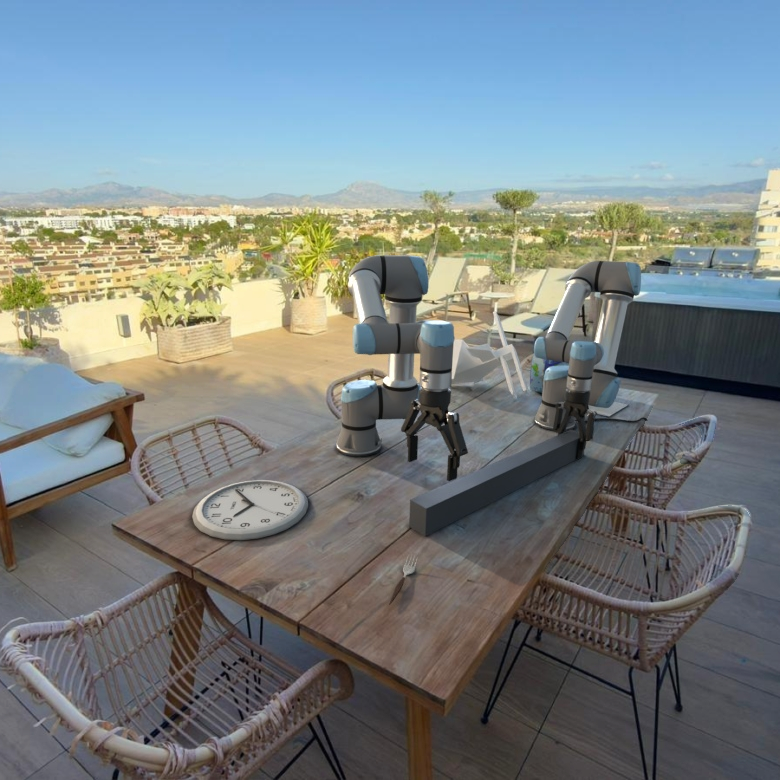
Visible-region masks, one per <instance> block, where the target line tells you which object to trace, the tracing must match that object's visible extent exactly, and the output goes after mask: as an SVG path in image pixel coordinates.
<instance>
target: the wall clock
mask: <svg viewBox="0 0 780 780" xmlns="http://www.w3.org/2000/svg"><path fill="white" fill-rule="evenodd" d="M308 509H309V502H308V498H307V496H306V494H305V493H304V492H303V491H302V490H300V489H299V488H297V487H296V486H294V485H292V484H289V483H286V482H284V481H283V482H282V481H276V480H268V479H267V480H266V479H257V480H245V481H240V482H236V483H231V484H229V485H226V486H223V487H220V488H218V489H216V490H214V491H212V492H210V493H209V494H207V495H205V497H203V498H202V499H201V500H200V501H198V503H197V504H196V506H195V507H194V508H193V512H192V516H191V517H192V521H193V524H194V526H195V527H196V528H197V530H199V531H200V532H201V533H203V534H206V535H207V536H210V537H212V538H216V539H222V540H226V541H227V540H229V541H245V540H246V541H247V540H256V539H261V538H265V537H266V538H267V537H271V536H274V535H276V534H278V533H281V532H283V531H286V530H288V529H289V528H291V527H293V526H295V525H296V524H297V523H299V522H300V521H301V520H302V518H304V516H305V515H306V513H307V511H308Z"/></svg>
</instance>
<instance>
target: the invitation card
mask: <svg viewBox="0 0 780 780" xmlns="http://www.w3.org/2000/svg"><path fill="white" fill-rule="evenodd" d="M628 406H629V404H627V403H623V402H618V401H614V403H613V404H612V405H611V406H610V407H609V408H602V407H595V406H590V405H588V407H589V409H590V410H591V411H593V412H594V411H596V412H597V414H596V415H600V416H604V417H608V418H610V417H611V416H613V415H614V414H616V413H617V412H619V411H621V410H623V409H624V408H626V407H628Z"/></svg>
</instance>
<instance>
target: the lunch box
mask: <svg viewBox="0 0 780 780" xmlns="http://www.w3.org/2000/svg"><path fill="white" fill-rule="evenodd" d="M563 365H567V366H569V363H566V362H560V361H553V360H545V359H540V358H537V357H536V356H535V355H534V354H533V356H532V358H531V363H530V374H529V391H532V392H536V393H540V394H542V391H543V382H544V381H543V379H544V375H545V371H546V369H548V368H550V367H553V366H563Z"/></svg>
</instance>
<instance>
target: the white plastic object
mask: <svg viewBox="0 0 780 780" xmlns="http://www.w3.org/2000/svg"><path fill="white" fill-rule="evenodd" d="M492 315H493V319H494V321H495V324H496V325H495V326H496V328H497V332H498V335H499V338H500V342H501V345H502V347H500V348H498V349H496V350H495V349H493V348H492V347H491V346H490V344H489V343H488V342H487V343H483V344H479V345H473V346H469V345H468V343H466V342H465V340H464V339H463V338H460V339H458V338H455V339H454V344H453V361H452V382H451V385H458V384H467V383H468V384H469V383H473V384H477V383H480V382H482V381H484V378H485V377H486V376H487V375H489V374H490V373H492V372H494V371H495V370H496V369H497V368H499V367H500V366H502V370H503V373H504V376H505V380H506V383H507V386H508V390H509V393H510V394H511V395H512V397H513V398H514V399H515V400H517V392H516V391H517V390H516V388H515V385H514V381H513V378H512V375H511V371H510V369H509V365H508V361H510V360H513V363H514V366H515V369H516V372H517V376H518V380H519V382H520V385H521V389H522V391H523V393H524V395H525V396H526V397H528V396H531V395H530V389H529V388H528V387H529V386H528V384H527V381H526V378H525V375H524V371H523V369H522V368H523V367H522V366H521V362H520V359H519V355H518V352H517V349H516V347H515V346H514V345H513V343H511V344H508V341H507V337H506V334H505V331H504V328H503V325H502V321H501V318H500V315H499V314H498V312H497V311H496V310H495V311H492Z"/></svg>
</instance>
